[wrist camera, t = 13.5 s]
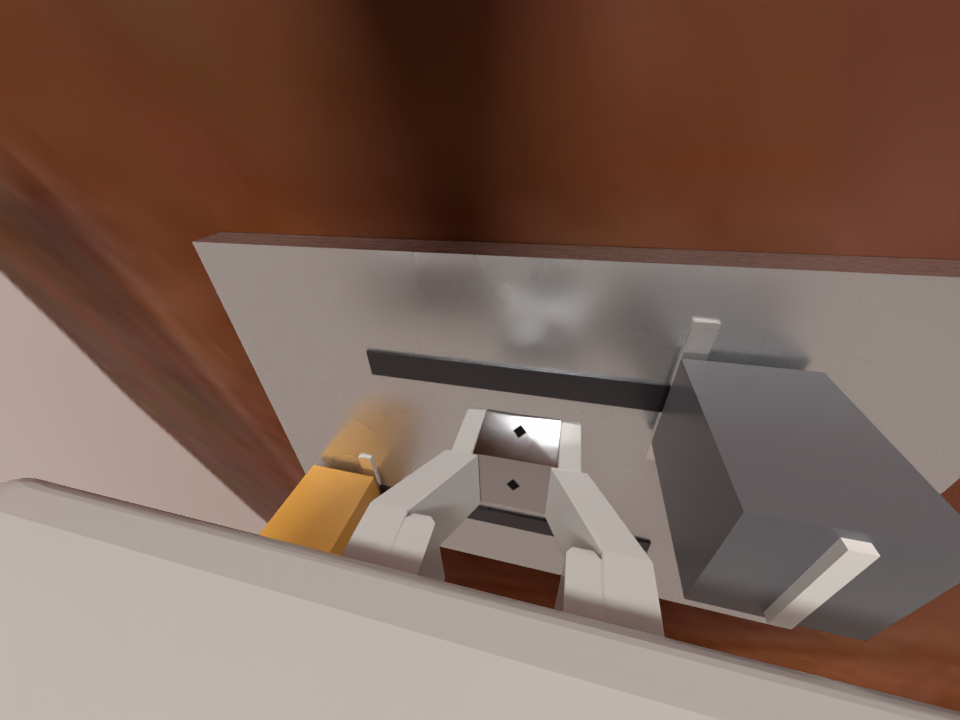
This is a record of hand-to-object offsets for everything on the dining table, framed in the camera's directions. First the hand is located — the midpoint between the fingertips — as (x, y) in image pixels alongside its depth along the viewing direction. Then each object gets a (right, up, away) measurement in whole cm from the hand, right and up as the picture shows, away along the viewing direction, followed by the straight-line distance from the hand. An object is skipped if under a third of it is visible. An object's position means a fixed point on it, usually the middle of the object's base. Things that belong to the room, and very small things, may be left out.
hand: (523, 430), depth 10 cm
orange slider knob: (-8, -5, +8) cm, 12 cm away
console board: (+1, -1, +5) cm, 5 cm away
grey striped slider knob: (+6, 0, 0) cm, 6 cm away
